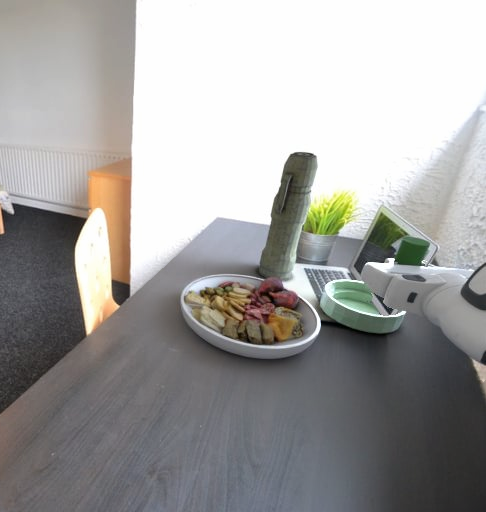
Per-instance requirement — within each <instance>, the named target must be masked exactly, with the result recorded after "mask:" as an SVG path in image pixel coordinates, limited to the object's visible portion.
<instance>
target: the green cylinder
mask: <svg viewBox="0 0 486 512" xmlns="http://www.w3.org/2000/svg"><path fill="white" fill-rule="evenodd" d="M430 246H431V242H429V241H428V240H426V239H423V238H420V237H414V236H403V237H402V239H401V241H400V243H399V246H398V249H397V251H396V253H395V255H394V258H393V259H395V260H396V261H398V264H397V265H410V266H421V264H422V262H423V261H424V259H425V257H426V255H427V252H428V251H429V249H430Z"/></svg>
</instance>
